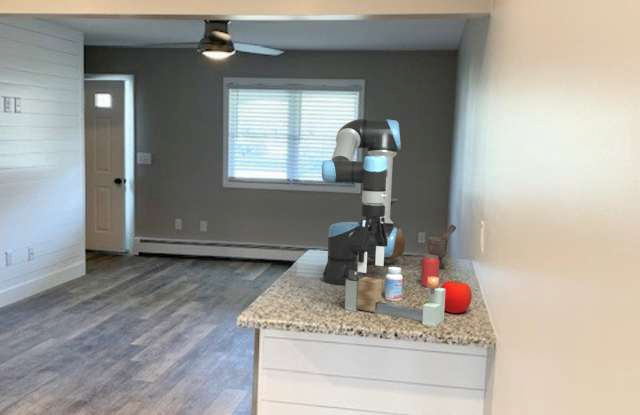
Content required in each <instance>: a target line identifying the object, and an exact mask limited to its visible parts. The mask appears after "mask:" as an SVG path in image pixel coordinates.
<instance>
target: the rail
mask: <svg viewBox="0 0 640 415" xmlns="http://www.w3.org/2000/svg"><path fill="white" fill-rule="evenodd" d="M364 277H365V276H362V275H361V276H359V272H358V270H349V279H347V280H346V285H345V293H344V294H345V298H344V310H346V311H351V312H359V311H364V312H369V313H373V314H379V315H385V316H390V317H391V316H392V317H396V318H403V319H409V320H413V321H418V322H423V308H417V307H412V306H405V305H400V304H395V303H388V302H384V301H383V302H382V301H381V302H377V303H376V306H375V311H370V310H364V309H359V308H358V291H359V280H360V279H362V278H364Z"/></svg>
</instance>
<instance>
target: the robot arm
mask: <svg viewBox="0 0 640 415" xmlns="http://www.w3.org/2000/svg"><path fill="white" fill-rule="evenodd" d="M400 134H401V132H400V124H399V122H398V121H397V120H395V119H387V118H386V119H384V118H383V119H381V118H379V119H376V118H371V119H369V118H358V119H357V118H356V119H354V120H351V121H349V122H348V123H345V124H344V125H342V127H341V128H340V129H339V130H338V131H337V134H336V136H335V143H336V145H335V148H334V150H333V153H332V157H331V159H328V160H327V159H324V160H323V162H322V165H321V179H322V180H323V182H325V183H326V182H328V183H332V184H336V183H338V184H339V183H341V184H342V183H343V184H362V192H361V193H362V194H361V202H362V203H363V204H362V205H361V216H363V217H365V219H364V220H363V219H362V220H360V225H359V222H358V221H342V222H335V223H333V224H331V225H330V226H329V228H328V235H327V239H328V240H327V241H328V242H327V262H326V265H325V267H324V270H323V273H322V281H323V282H324V283H327V284H332V285H342V286H343V285H345V286H346V280H347V279H349V270H358V272H359V276H362V275H361V273H365V274H367V267H368V266H367V264H368V263H367V262H368V257H367V256H374V257H376V260H374V261H375V264H374V265H375V266H379V267H384V264H385V263H384V257H390V256H391V255H392V254H393V250H394V244H395V239H396V233H397V228H395V227H394V223H393V222H392V221H393V220H392V221H391V219H392V218H391V219H390V216H391V207H392V205H391V198H392V184H393V181H392V180H393V163H394V162H393V160H394V158H395V156H397V155H398V151H399V150H401V148H402V146H401V135H400ZM357 149H367V156H365V157H364V159H363V161H362V160H361V161H360V160H359V161H357V160H356V161H355V160H354V159H355V154H356V151H357Z"/></svg>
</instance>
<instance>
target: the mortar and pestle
mask: <svg viewBox="0 0 640 415" xmlns="http://www.w3.org/2000/svg"><path fill="white" fill-rule="evenodd" d="M456 229H457V226H455V225H454V224H450V225H449V226H448V228H447V229H446V231H445V233H444V234H443V235H442V237H440V236H439V237H437V236H430V237H428V243H427V244H428V245H427V249H428V254H430V255H437V256H438V258H439V269H444V268H445V263H444V262H443V258H445V257H446V253H447V250H448V244H449V243H448V241H449V239H448V238H449V237H450V236H451V235H453V233H454V232H455V231H456Z"/></svg>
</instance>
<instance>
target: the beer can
mask: <svg viewBox="0 0 640 415" xmlns="http://www.w3.org/2000/svg"><path fill="white" fill-rule="evenodd" d="M439 275H440V268H439V258H438V256H437V255H430V254H429V253H428V254H424V255H423V258H422V261H421V280H420V285H421V286H422V287H423V288H428V287H427V282H428V277H430V276H433V277H438V278H439V279H440V277H439Z"/></svg>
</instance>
